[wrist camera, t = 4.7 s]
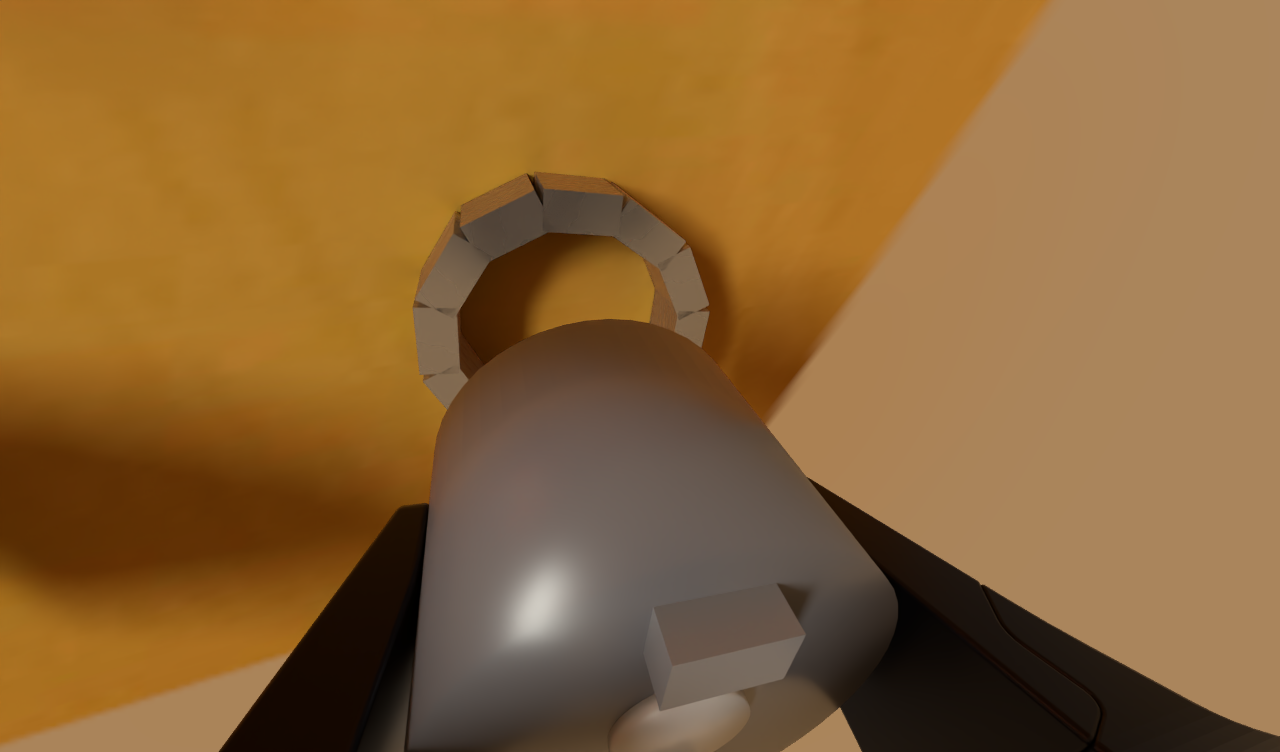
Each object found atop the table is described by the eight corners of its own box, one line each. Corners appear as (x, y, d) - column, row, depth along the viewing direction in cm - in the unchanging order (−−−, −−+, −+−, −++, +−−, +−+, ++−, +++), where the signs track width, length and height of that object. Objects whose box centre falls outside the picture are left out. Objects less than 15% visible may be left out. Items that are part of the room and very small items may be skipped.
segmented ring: (433, 420, 19) (429, 462, 17) (408, 159, 14) (398, 175, 12) (660, 408, 22) (679, 443, 20) (703, 188, 17) (734, 205, 15)
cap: (448, 575, 10) (429, 943, 6) (414, 321, 7) (328, 699, 3) (705, 536, 11) (831, 798, 7) (765, 317, 8) (1028, 550, 4)
